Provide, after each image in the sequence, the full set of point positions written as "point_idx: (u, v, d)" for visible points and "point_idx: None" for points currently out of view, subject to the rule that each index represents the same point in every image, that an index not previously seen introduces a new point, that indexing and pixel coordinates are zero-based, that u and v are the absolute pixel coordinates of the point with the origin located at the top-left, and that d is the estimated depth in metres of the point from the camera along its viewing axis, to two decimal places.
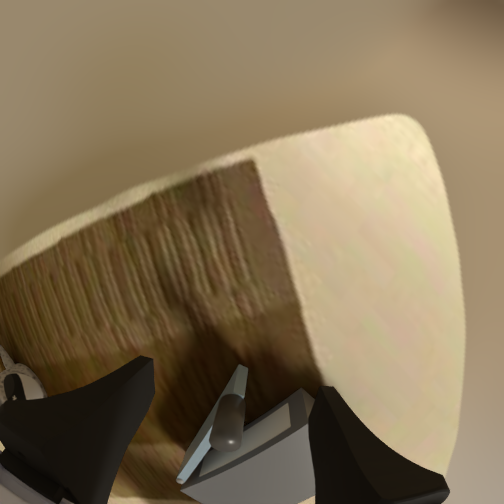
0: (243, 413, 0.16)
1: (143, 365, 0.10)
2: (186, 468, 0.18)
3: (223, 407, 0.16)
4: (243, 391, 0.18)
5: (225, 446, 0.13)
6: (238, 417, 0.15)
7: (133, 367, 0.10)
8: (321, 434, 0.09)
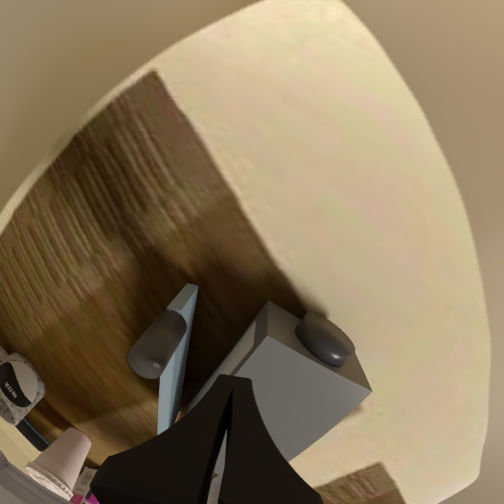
0: (175, 329, 0.14)
1: (231, 385, 0.10)
2: (160, 421, 0.17)
3: (151, 324, 0.14)
4: (181, 306, 0.16)
5: (148, 369, 0.12)
6: (163, 332, 0.13)
7: (223, 388, 0.09)
8: (229, 426, 0.09)
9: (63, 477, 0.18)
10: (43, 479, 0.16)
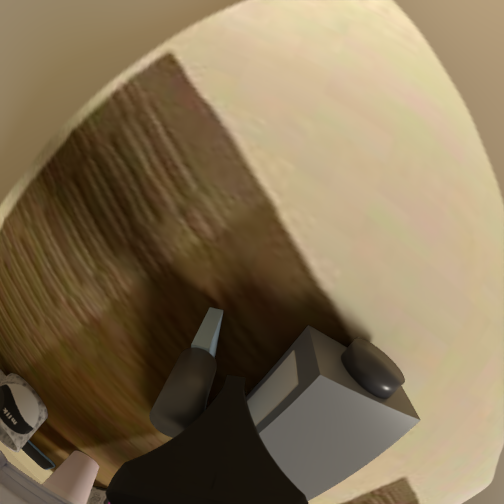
0: (206, 374, 0.11)
1: (242, 386, 0.10)
2: None
3: (174, 368, 0.11)
4: (208, 341, 0.13)
5: (177, 430, 0.08)
6: (193, 381, 0.10)
7: (234, 390, 0.09)
8: None
9: None
10: None
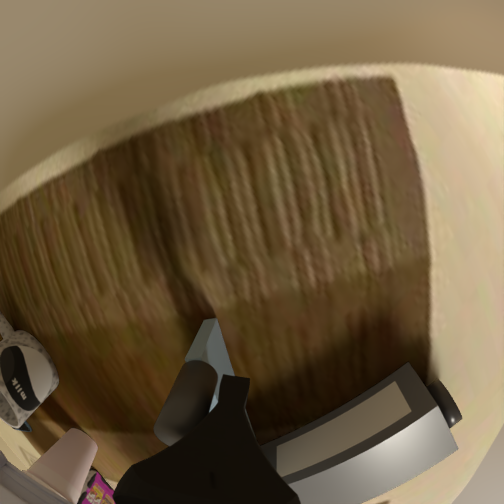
0: (201, 381, 0.11)
1: (247, 387, 0.10)
2: None
3: None
4: (201, 351, 0.13)
5: None
6: (186, 392, 0.10)
7: (239, 391, 0.09)
8: None
9: (71, 495, 0.13)
10: None
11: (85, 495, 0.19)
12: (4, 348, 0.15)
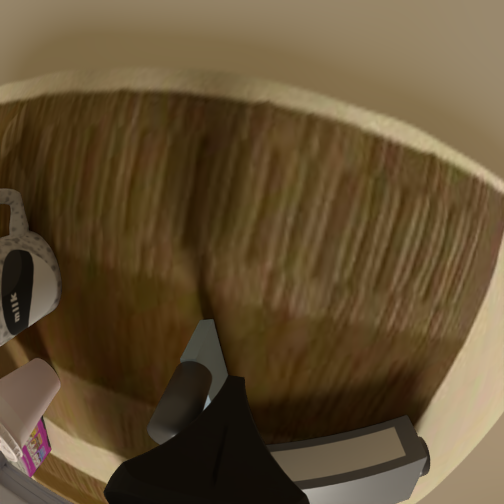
0: (195, 383, 0.11)
1: (241, 386, 0.10)
2: None
3: (167, 386, 0.11)
4: (196, 352, 0.13)
5: None
6: (180, 393, 0.10)
7: (233, 390, 0.09)
8: None
9: (22, 440, 0.12)
10: None
11: None
12: (12, 249, 0.13)
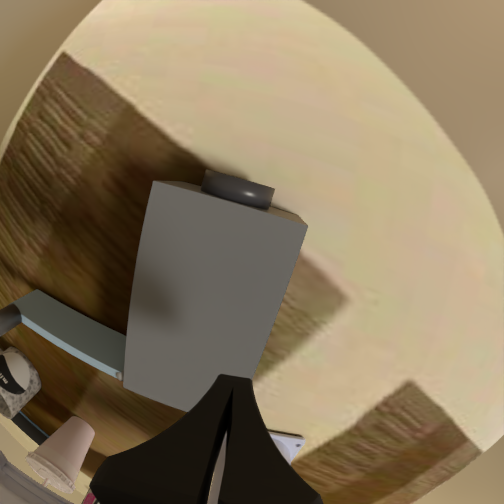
0: None
1: (231, 385, 0.10)
2: (94, 364, 0.17)
3: None
4: (12, 303, 0.17)
5: None
6: None
7: (223, 388, 0.09)
8: (228, 426, 0.09)
9: (60, 463, 0.17)
10: (40, 468, 0.16)
11: None
12: None
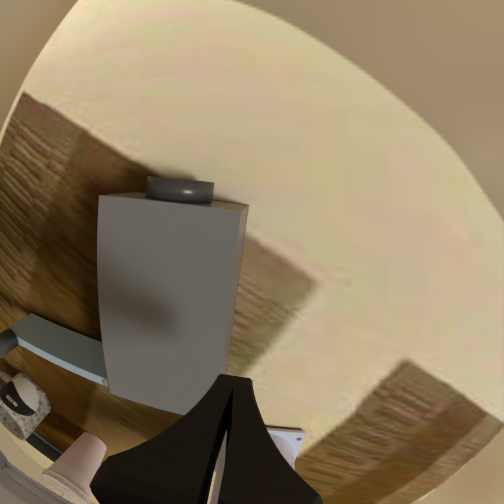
0: None
1: (231, 385, 0.10)
2: (83, 374, 0.18)
3: None
4: None
5: None
6: None
7: (223, 388, 0.09)
8: (229, 426, 0.09)
9: (72, 477, 0.18)
10: (55, 483, 0.16)
11: None
12: (4, 385, 0.22)
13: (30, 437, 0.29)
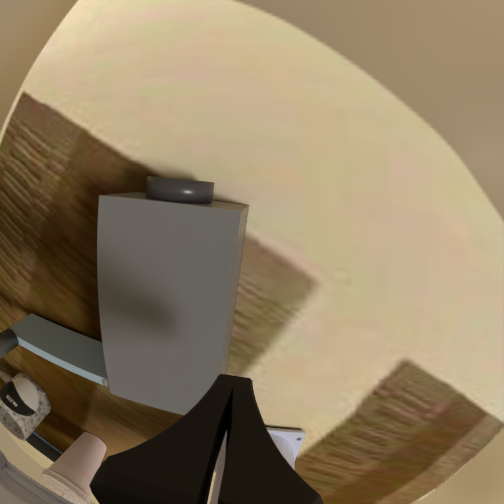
0: None
1: (231, 385, 0.10)
2: (83, 374, 0.18)
3: None
4: None
5: None
6: None
7: (223, 388, 0.09)
8: (229, 426, 0.09)
9: (72, 477, 0.18)
10: (55, 483, 0.16)
11: None
12: (4, 385, 0.22)
13: (30, 437, 0.29)
